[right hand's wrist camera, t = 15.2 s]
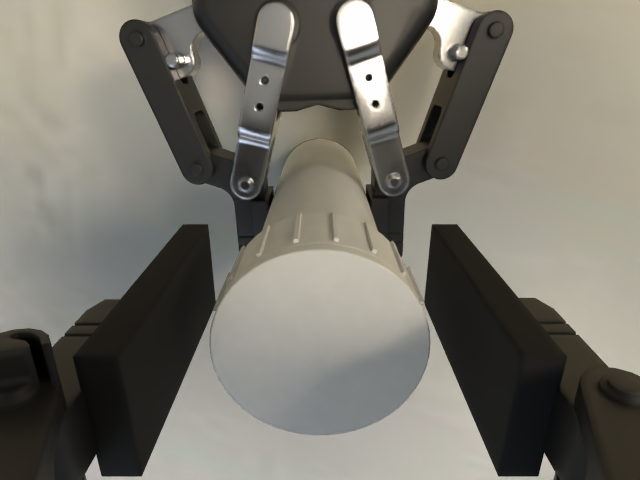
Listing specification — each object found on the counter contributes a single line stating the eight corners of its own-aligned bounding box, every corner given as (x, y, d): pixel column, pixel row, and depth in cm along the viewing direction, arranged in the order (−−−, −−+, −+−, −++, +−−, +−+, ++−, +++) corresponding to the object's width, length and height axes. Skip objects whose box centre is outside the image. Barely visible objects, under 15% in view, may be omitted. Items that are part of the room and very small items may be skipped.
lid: (253, 184, 11) (236, 216, 9) (442, 243, 12) (472, 287, 9) (208, 346, 13) (184, 407, 10) (374, 390, 13) (385, 458, 11)
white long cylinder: (360, 140, 24) (418, 259, 10) (353, 212, 26) (396, 407, 11) (284, 136, 24) (230, 250, 10) (282, 209, 26) (234, 400, 11)
